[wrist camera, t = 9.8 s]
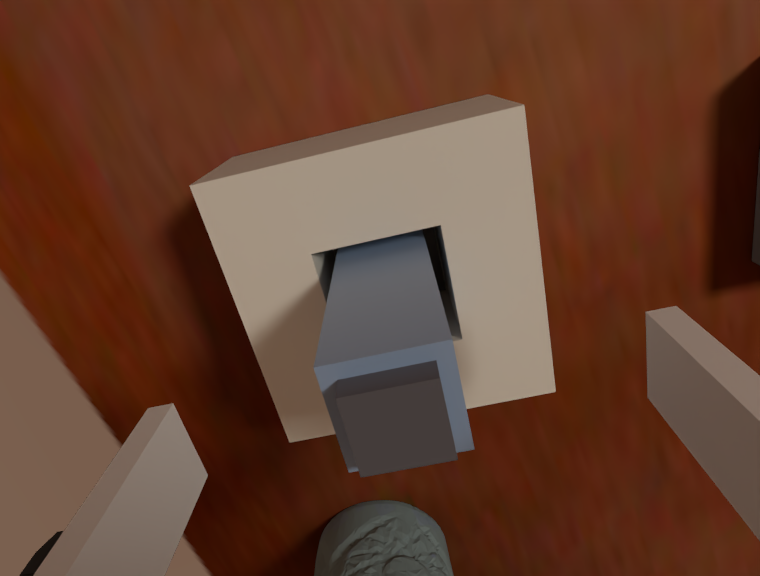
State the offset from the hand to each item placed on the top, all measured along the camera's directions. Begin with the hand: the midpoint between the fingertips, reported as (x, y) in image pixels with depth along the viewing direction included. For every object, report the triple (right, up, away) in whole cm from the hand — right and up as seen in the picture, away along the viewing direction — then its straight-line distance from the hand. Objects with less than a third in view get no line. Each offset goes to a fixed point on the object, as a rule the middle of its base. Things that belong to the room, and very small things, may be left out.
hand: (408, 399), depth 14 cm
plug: (0, +5, +10) cm, 11 cm away
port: (0, +5, +11) cm, 13 cm away
